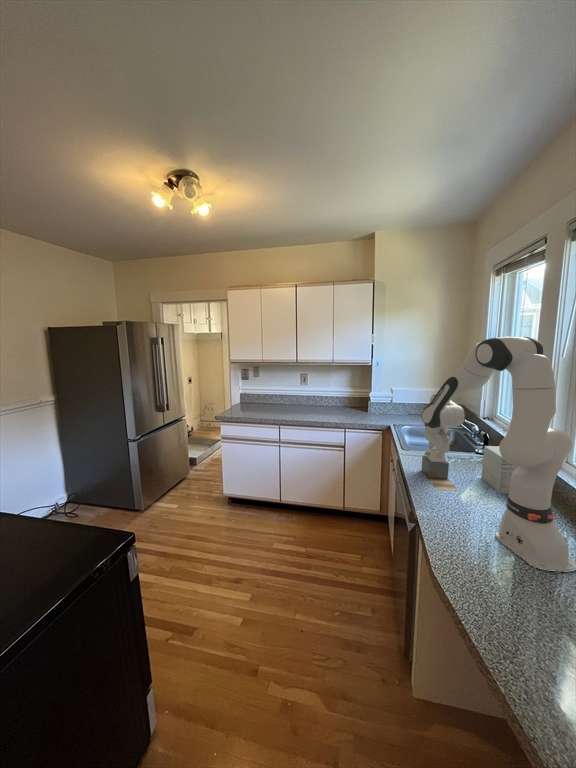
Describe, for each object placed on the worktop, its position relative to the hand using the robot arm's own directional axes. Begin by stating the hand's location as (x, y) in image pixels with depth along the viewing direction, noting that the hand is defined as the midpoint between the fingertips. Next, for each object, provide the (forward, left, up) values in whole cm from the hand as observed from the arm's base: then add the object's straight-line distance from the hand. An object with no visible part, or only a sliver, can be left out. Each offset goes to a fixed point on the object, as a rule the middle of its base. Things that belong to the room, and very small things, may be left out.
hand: (435, 454), depth 151 cm
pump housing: (0, 0, -3) cm, 3 cm away
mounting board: (-5, 0, -12) cm, 13 cm away
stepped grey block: (0, 0, -11) cm, 11 cm away
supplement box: (-8, -28, -12) cm, 32 cm away
